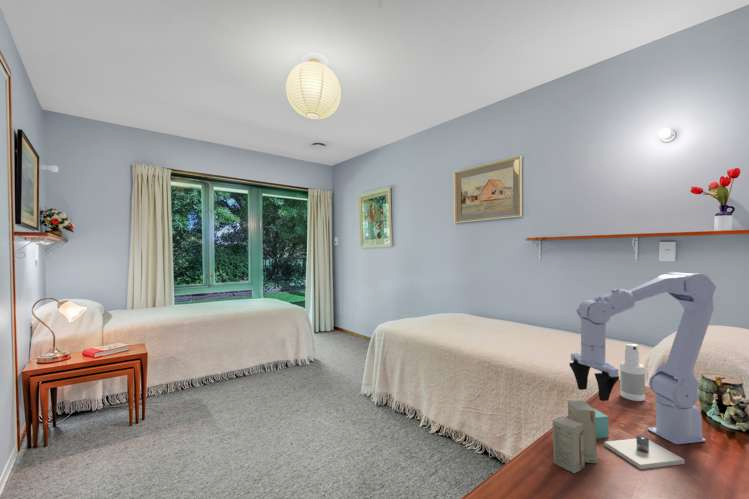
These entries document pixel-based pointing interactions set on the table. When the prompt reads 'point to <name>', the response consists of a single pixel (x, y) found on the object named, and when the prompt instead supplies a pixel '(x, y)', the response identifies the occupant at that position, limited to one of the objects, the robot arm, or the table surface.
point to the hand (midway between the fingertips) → (592, 394)
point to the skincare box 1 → (568, 444)
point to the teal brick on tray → (601, 424)
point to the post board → (644, 453)
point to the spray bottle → (632, 375)
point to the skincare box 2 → (585, 427)
